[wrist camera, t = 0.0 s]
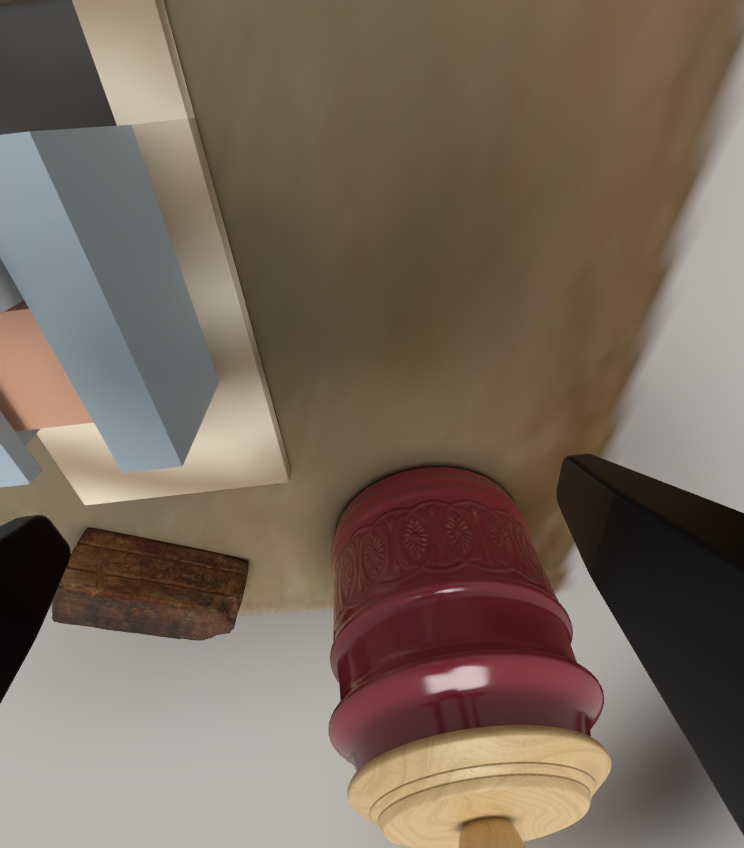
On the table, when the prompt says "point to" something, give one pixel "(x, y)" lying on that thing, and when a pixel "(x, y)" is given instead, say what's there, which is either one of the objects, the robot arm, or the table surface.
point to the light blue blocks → (103, 294)
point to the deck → (182, 212)
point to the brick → (149, 587)
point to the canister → (456, 669)
